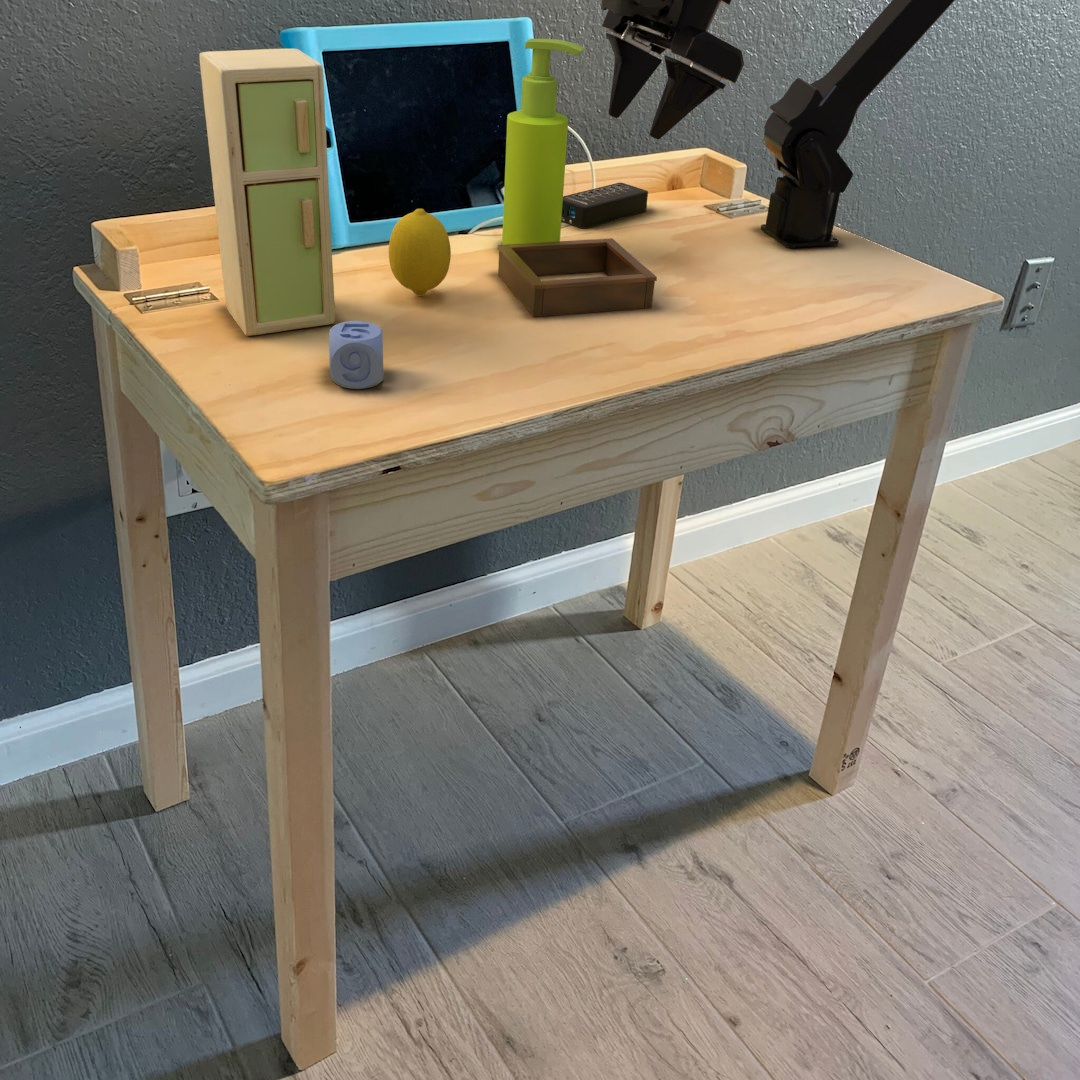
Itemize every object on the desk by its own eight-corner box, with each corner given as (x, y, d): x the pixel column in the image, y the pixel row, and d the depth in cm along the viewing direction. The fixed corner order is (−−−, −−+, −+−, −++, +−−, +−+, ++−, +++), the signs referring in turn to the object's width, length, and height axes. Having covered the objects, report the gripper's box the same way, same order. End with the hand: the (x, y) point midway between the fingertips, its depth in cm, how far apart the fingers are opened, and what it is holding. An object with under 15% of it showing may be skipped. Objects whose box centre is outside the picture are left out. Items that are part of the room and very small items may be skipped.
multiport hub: (647, 211, 130) (649, 190, 128) (582, 229, 123) (584, 207, 121) (618, 201, 132) (620, 181, 131) (553, 218, 125) (554, 197, 124)
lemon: (462, 297, 104) (464, 211, 100) (417, 312, 101) (417, 223, 96) (422, 280, 107) (422, 195, 103) (376, 293, 104) (374, 206, 99)
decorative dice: (383, 367, 91) (382, 320, 88) (383, 389, 87) (382, 341, 85) (332, 367, 90) (330, 320, 88) (330, 389, 87) (328, 340, 84)
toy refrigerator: (246, 341, 93) (222, 69, 82) (223, 309, 99) (197, 50, 87) (339, 328, 96) (328, 66, 85) (312, 298, 102) (298, 47, 90)
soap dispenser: (561, 264, 113) (577, 49, 102) (495, 254, 114) (503, 41, 103) (574, 246, 118) (590, 39, 107) (510, 237, 119) (519, 31, 108)
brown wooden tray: (609, 267, 113) (612, 238, 111) (653, 308, 105) (657, 276, 103) (496, 275, 110) (497, 244, 108) (532, 317, 101) (534, 285, 99)
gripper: (594, -81, 111) (530, 77, 116) (686, -62, 96) (608, 117, 102) (681, -31, 117) (616, 117, 122) (780, -6, 102) (702, 161, 108)
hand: (632, 126), depth 113 cm, fingers open, 9 cm apart
